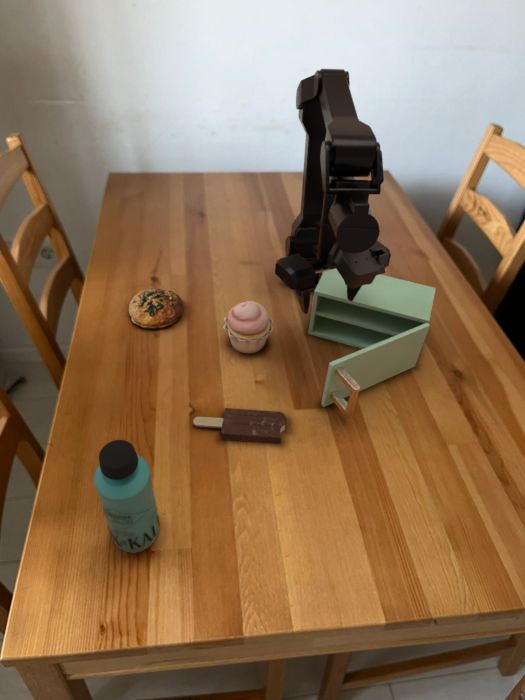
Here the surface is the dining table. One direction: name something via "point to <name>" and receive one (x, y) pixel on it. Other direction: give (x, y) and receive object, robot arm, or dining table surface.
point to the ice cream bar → (247, 425)
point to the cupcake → (248, 327)
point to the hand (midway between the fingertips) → (327, 306)
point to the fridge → (368, 309)
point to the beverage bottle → (127, 496)
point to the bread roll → (155, 308)
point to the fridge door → (371, 367)
